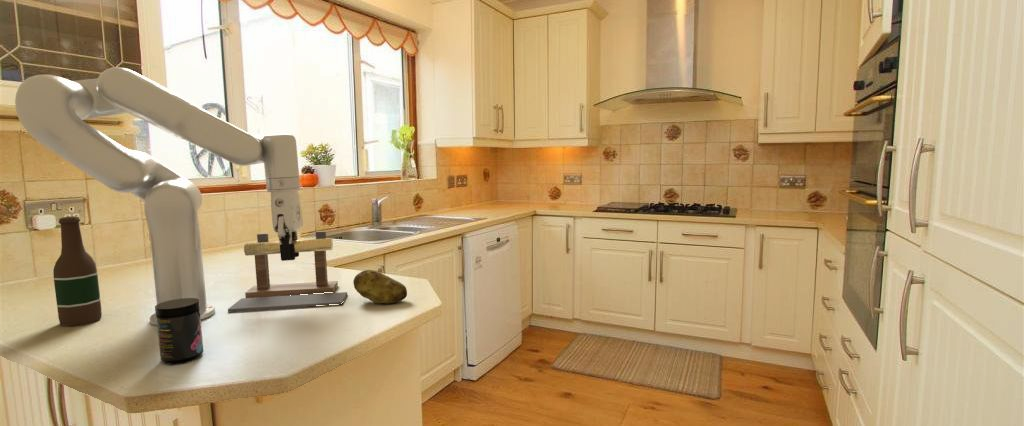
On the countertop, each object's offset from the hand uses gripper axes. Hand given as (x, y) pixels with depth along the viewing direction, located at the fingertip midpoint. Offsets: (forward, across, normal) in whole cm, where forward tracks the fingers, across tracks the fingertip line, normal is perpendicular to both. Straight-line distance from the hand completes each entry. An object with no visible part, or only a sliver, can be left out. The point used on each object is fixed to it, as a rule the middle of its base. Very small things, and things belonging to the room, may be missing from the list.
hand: (290, 257), depth 124 cm
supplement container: (+11, -32, +12) cm, 36 cm away
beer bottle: (+11, -4, +45) cm, 46 cm away
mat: (+12, 0, +1) cm, 12 cm away
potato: (+12, -4, -21) cm, 25 cm away
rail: (-3, 0, 0) cm, 3 cm away
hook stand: (+12, +11, +3) cm, 16 cm away
